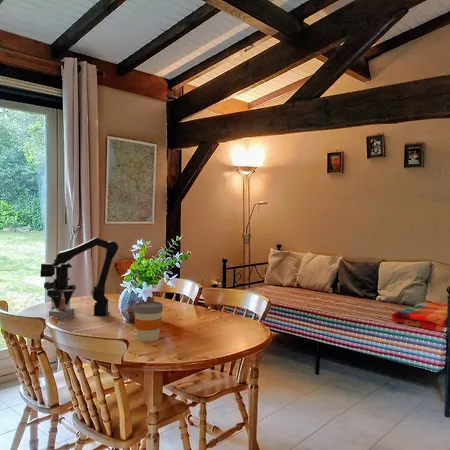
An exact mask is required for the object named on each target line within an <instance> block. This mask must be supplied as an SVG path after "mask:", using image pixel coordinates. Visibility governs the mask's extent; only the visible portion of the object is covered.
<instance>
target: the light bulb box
mask: <svg viewBox="0 0 450 450" xmlns="http://www.w3.org/2000/svg"><path fill="white" fill-rule="evenodd" d="M62 297H64V294H63V292H62ZM50 298H51V297H50ZM50 301H51V304H50V306H51V307H50V308H51V309H50V310H53V309H55V308H56V307H55V304H54V301H53V299H52V298H51V300H50ZM65 308H71V299H70V300H69V303H68V305H65Z"/></svg>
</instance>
